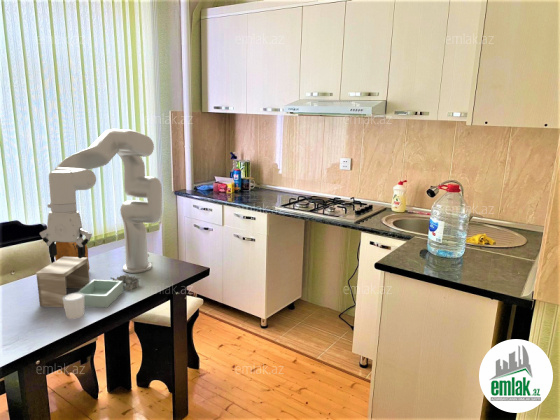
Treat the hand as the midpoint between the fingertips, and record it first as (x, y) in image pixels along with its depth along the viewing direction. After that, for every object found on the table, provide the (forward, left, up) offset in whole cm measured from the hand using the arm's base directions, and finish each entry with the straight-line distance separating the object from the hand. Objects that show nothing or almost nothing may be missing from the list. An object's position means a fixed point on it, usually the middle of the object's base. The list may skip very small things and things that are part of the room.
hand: (67, 256), depth 140 cm
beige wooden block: (-12, -9, -21) cm, 26 cm away
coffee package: (-32, -17, -21) cm, 42 cm away
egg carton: (-25, +9, -21) cm, 34 cm away
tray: (-12, +4, -21) cm, 24 cm away
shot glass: (+1, +2, -21) cm, 21 cm away
